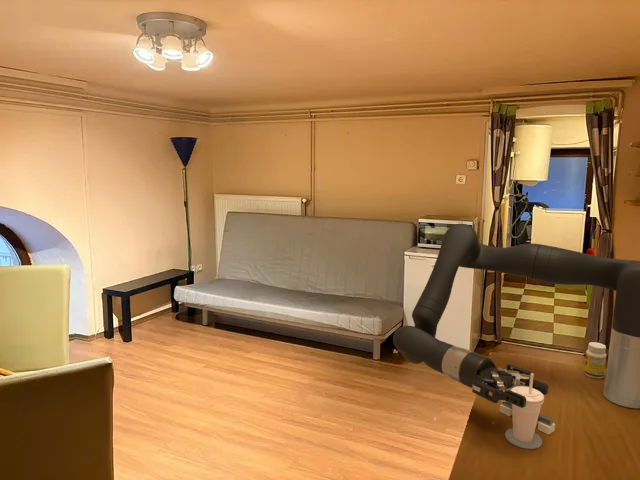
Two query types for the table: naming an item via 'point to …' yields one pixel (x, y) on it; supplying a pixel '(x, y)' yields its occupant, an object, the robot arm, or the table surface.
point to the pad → (532, 444)
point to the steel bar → (541, 417)
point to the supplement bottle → (595, 360)
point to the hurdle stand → (541, 426)
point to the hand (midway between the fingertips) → (536, 396)
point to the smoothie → (526, 412)
